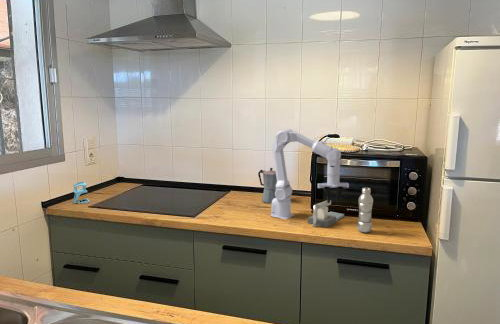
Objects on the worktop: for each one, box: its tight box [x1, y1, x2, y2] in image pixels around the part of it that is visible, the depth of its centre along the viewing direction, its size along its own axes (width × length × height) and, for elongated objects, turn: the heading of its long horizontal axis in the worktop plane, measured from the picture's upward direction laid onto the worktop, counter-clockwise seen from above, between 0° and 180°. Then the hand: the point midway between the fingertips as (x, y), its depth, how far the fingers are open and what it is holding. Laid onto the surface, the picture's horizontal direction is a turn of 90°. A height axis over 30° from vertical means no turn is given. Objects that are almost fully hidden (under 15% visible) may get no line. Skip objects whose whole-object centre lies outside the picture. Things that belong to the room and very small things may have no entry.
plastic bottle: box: [356, 187, 374, 233], centre depth 169 cm, size 6×7×20 cm
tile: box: [328, 211, 345, 222], centre depth 190 cm, size 9×9×2 cm
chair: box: [72, 181, 91, 204], centre depth 218 cm, size 8×8×12 cm
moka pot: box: [257, 167, 277, 204], centre depth 219 cm, size 10×15×20 cm, turn 58°
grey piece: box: [312, 199, 332, 228], centre depth 180 cm, size 13×2×10 cm, turn 136°
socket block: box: [307, 214, 337, 228], centre depth 182 cm, size 10×10×3 cm
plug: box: [318, 206, 329, 220], centre depth 181 cm, size 4×4×8 cm
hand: (332, 202), depth 181 cm, fingers open, 4 cm apart
